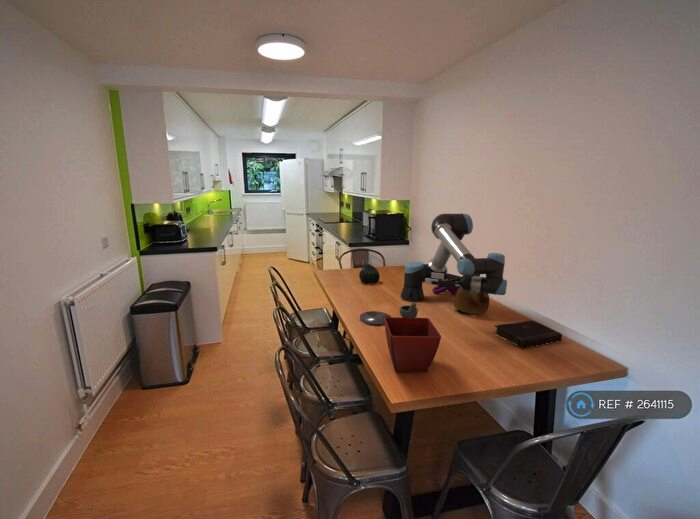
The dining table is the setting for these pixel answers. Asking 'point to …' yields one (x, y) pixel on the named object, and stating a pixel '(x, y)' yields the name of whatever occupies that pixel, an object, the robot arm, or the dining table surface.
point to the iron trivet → (374, 318)
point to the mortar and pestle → (409, 311)
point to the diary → (528, 333)
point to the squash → (369, 274)
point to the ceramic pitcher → (471, 301)
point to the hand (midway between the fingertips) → (428, 277)
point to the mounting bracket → (442, 289)
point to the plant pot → (411, 343)
